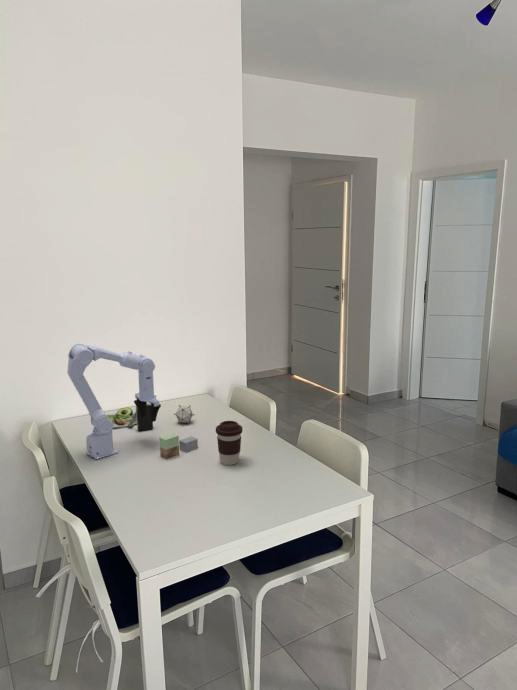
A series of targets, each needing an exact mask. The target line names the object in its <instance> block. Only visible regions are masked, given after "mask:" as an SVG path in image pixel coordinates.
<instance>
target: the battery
mask: <svg viewBox="0 0 517 690" xmlns="http://www.w3.org/2000/svg"><path fill="white" fill-rule="evenodd" d="M148 405H151V404H150V403H147V404H146V406H148ZM135 406H136V405H135ZM135 412H136V417H137V424H136V425H137V431H138V432H143V431H150V430H154V422H151V421H150V416H149V412H148V409H147V407H146V415H145V416H144V417H140V415H139V412H138V409H137V406H136V407H135Z"/></svg>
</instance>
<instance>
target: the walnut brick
mask: <svg viewBox="0 0 517 690" xmlns="http://www.w3.org/2000/svg"><path fill="white" fill-rule="evenodd" d="M159 452H160V457H161V458H163V459H165V460H169V459H171V458H175V457H177V456H180V448H179V446H176V447H173V448H170V449H167V450H165V449H163V448H161V447H160V446H159ZM174 456H175V457H174Z"/></svg>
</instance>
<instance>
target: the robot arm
mask: <svg viewBox="0 0 517 690" xmlns="http://www.w3.org/2000/svg"><path fill="white" fill-rule="evenodd" d="M67 354H68V355H67V356H68V360H67V361H68V363H67V370H66V371H67V372H66V373H67V375H68V377H69V378H70V381H71V382H72V384H73V387H74V388H75V389H76V391H77V393H78V395H79V397H80V398H81V400H82V402H83V405H84V406H85V408H86V409H87V411H88V414H89V416H90V424H91V425H92V426H93V430H92V433H90V434H89V435H87V436H86V441H85V442H86V451H87V452H86V455H88V456H89V455H90V456H89V457H91V458H92V457H94V458H96V459H97V458H98V457H99V458H100V459H102V458H101V457H103V458H106V457H109V456H112V455H115V454H118V453H119V451H118V450H116V449H114V438H113V430H114V428H113V426H114V424H113V422H112V420H111V419H109V418H108V417H107V416H106V415H107V414H106V413H105V411H104V410H103V409H102V406H101V405H100V402H99V401H98V399H97V397H96V395H95V394H94V392H93V390H92V388H91V386H90V384H89V383H88V380H87V378H86V377H85V375H84V373H85V370H86V369H87V367H89V366H90V364H91V363H92V362H96V361H98V360H99V359H104V360H107V361H113V362H117V363H119V365H120V366H121V367H124V368H127V369H131V370H136V371H138V372H137V373H138V391H139V392H138V393H135V394H134V397H135V400H134V401H133V403H134V405H135V406H137V409H138V412H139V415H140V417H144V416H145V415H146V407H147V409H148V412H149V416H150V421H151V422H153V423H154V422H156V421H157V417H158V413H159V411H160V409H161V406H162V404H161V403H160V400H159V399H158V398H157V395H156V394H155V388H154V387H155V386H154V385H155V384H154V371H155V369H156V364H155V362H154V361H153V360H152V359H151V358H149V357H147V356H145V355H143V354H136V353H133V352H132V351H130V350H129V351H124V352H122V353H119V352H115V351H112V350H108V349H105V348H101V347H99V346H94V345H90V344H83V343H76V344H74V345H73V346H71V348H70V349H69V351H68V353H67ZM146 404H150V405H148V406H146ZM105 456H106V457H105ZM94 458H93V459H94ZM96 459H95V460H96ZM97 460H98V459H97Z"/></svg>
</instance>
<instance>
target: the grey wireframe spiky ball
mask: <svg viewBox="0 0 517 690" xmlns="http://www.w3.org/2000/svg"><path fill="white" fill-rule="evenodd" d="M173 415H174V416H175V417H176V419H177V421H178V422H177V424H180V423H183V424H184V423H187V424H189V425H190V421H191V420H192V418H193V416H195V414H194V413H193V411H192V409H191V405H189V406H181V405H180V404H179V405H178V409H177V410H176V413H174V414H173Z"/></svg>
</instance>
